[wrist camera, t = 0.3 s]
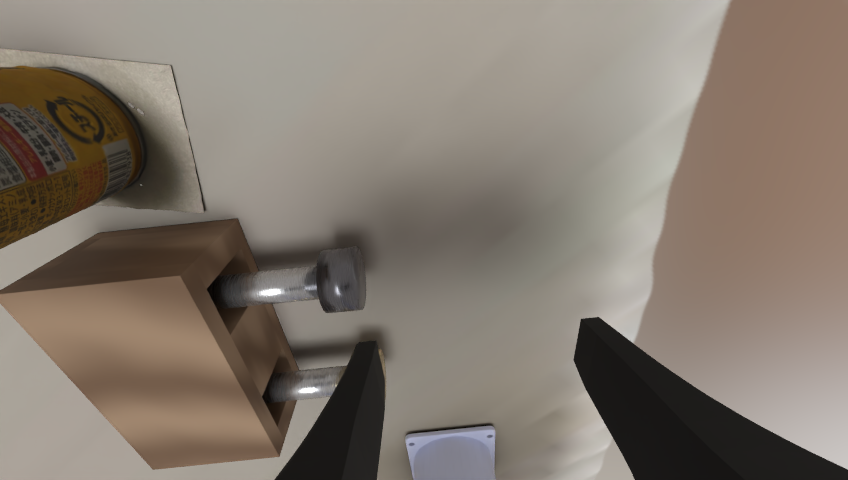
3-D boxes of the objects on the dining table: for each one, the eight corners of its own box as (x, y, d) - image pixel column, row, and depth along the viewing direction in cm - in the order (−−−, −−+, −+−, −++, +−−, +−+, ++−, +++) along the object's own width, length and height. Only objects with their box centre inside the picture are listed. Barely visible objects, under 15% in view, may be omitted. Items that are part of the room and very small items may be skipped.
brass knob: (387, 372, 24) (384, 416, 21) (266, 384, 24) (247, 430, 21) (379, 338, 23) (376, 381, 20) (250, 351, 23) (227, 396, 20)
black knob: (368, 284, 20) (361, 323, 17) (225, 298, 20) (194, 340, 17) (357, 235, 19) (349, 269, 16) (202, 251, 19) (163, 288, 16)
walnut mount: (303, 380, 26) (279, 456, 21) (200, 391, 26) (153, 469, 21) (237, 218, 19) (179, 275, 14) (98, 232, 19) (-8, 294, 14)
